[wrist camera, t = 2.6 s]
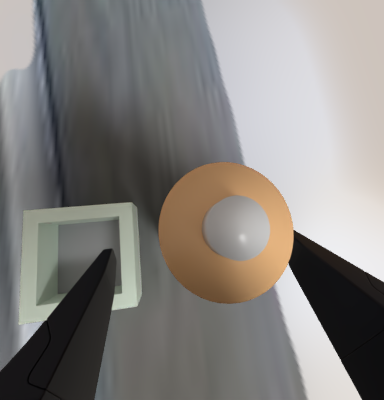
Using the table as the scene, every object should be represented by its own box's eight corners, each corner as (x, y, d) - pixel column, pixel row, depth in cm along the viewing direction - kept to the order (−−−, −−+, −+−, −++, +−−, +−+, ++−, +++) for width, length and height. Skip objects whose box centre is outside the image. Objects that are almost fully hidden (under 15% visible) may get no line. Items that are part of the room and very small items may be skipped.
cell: (207, 252, 18) (328, 300, 5) (165, 257, 18) (164, 330, 4) (202, 210, 19) (297, 148, 5) (161, 214, 18) (151, 154, 5)
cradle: (142, 293, 17) (137, 306, 14) (46, 307, 16) (18, 324, 13) (137, 207, 18) (131, 202, 15) (48, 214, 17) (23, 210, 14)
